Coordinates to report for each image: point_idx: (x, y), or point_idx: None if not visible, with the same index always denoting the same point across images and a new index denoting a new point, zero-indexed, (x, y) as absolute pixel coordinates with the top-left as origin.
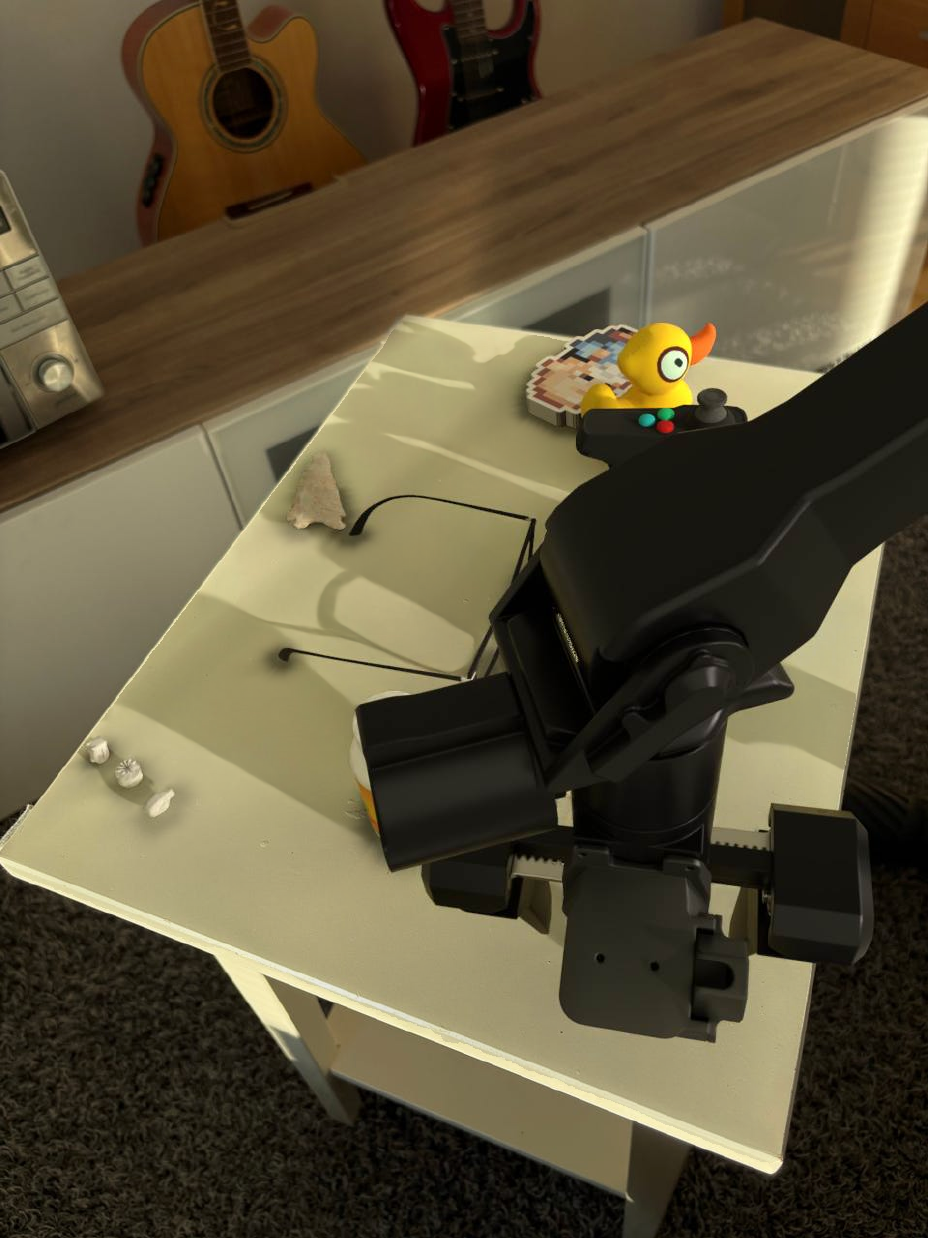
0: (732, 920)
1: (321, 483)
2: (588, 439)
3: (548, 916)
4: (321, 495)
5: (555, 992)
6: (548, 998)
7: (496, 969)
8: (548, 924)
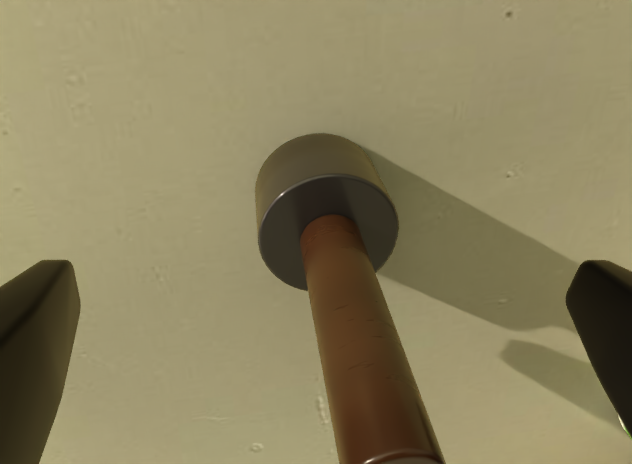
0: (41, 417)
1: None
2: None
3: (619, 324)
4: None
5: (506, 110)
6: (525, 94)
7: (625, 146)
8: (607, 296)
